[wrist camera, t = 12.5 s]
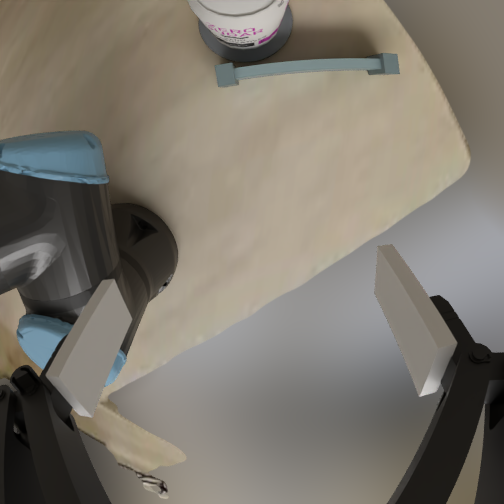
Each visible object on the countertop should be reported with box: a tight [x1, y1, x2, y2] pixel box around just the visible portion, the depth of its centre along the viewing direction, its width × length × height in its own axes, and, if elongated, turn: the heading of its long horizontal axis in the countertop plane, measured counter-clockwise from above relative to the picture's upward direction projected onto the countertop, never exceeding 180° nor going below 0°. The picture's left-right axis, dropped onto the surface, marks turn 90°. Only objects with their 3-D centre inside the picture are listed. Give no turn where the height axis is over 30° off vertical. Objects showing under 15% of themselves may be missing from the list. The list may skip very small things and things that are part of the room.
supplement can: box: [188, 0, 289, 50], centre depth 22 cm, size 8×8×15 cm
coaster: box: [199, 5, 293, 62], centre depth 29 cm, size 11×11×1 cm
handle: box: [215, 53, 400, 87], centre depth 30 cm, size 20×2×6 cm, turn 99°
